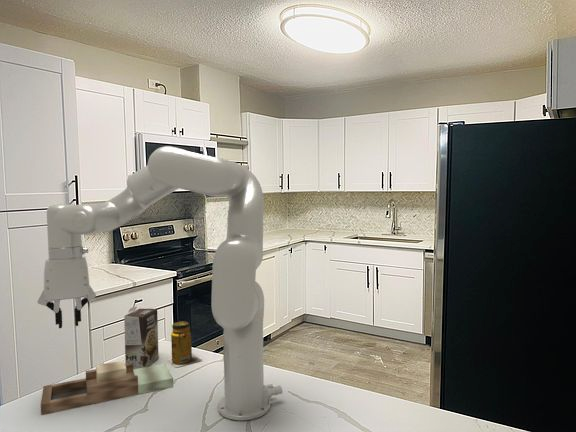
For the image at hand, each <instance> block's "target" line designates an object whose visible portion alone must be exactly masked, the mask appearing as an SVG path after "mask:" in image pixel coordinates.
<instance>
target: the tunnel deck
mask: <svg viewBox="0 0 576 432" xmlns="http://www.w3.org/2000/svg"><path fill="white" fill-rule="evenodd" d="M125 366H126V374H127V377H126V378H120V379H115V380H110V381H105V382H100V383H97V379H96V368H95V369H89V370H85V377H84V378H81V379H74V380H70V381H63V382H60V383H59V382H58V383H54V384H47V385H44V386H43V388H42V392H41V393H42V394H41V402H40V415H41V416H44V415H47V414H53V413H56V412H57V413H58V412H61V411H66V410H71V409H76V408H80V407H81V408H82V407H85V406H89V405H90V406H92V405H94V404H95V405H96V404H99V403H104V402H109V401H113V400H118V399H119V400H120V399H122V398H123V399H124V398H127V397H133V396H136V395H137V396H138V395H142V394H146V393H152V392H156V391H161V390H165V389H170V388H174V377H173V375H172V373H171V372H170V370H169V368H168V366H167V364H166V363H160V364H156V365H150V366H148V367H144V368H139V369H133V363H127V364H125Z"/></svg>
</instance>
